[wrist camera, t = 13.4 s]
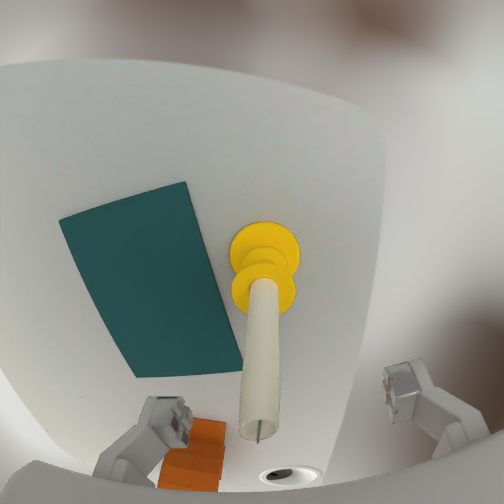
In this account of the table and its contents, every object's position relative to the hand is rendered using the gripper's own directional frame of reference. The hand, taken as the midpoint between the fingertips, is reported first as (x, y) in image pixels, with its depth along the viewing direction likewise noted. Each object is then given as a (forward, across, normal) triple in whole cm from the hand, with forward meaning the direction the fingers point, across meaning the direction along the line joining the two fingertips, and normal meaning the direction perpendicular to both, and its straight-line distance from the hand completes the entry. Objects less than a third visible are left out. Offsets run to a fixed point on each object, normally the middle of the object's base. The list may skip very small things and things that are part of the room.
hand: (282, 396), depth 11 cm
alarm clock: (+13, +14, +24) cm, 31 cm away
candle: (+14, +1, 0) cm, 14 cm away
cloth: (+13, +11, +2) cm, 18 cm away
